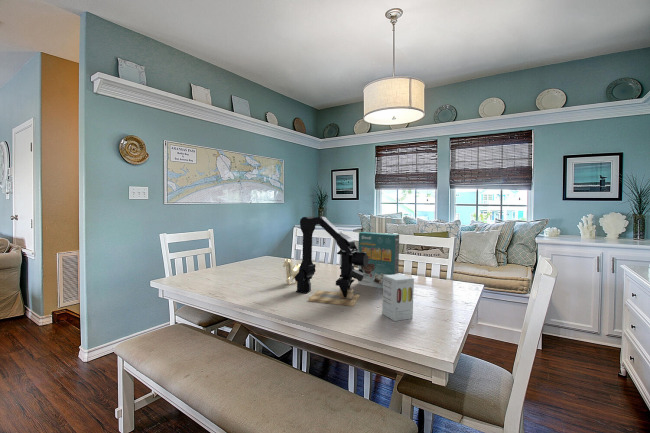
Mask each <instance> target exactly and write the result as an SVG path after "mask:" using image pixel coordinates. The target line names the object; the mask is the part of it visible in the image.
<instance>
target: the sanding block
mask: <svg viewBox="0 0 650 433" xmlns="http://www.w3.org/2000/svg"><path fill="white" fill-rule="evenodd" d="M338 291H339V292H338V293H339V299H349V300H352V298H353V294H354V288H350V289H348V292H347V297H346V298H345V297H344V296H343V294H342V291H341V289H340V288H339V290H338Z"/></svg>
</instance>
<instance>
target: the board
mask: <svg viewBox="0 0 650 433" xmlns="http://www.w3.org/2000/svg"><path fill="white" fill-rule="evenodd" d="M359 298H360V294H355V293H353V298H352V300H349V299H339V292H335V291H325V290H317V291H315V292H314V293H313V294H312V295H311V296H309V298H308V300H307V301H308V302H314V303H322V304H323V303H324V304H331V305H333V304H334V305H340V306H342V305H343V306H347V307H348V306H349V307H354V306H355V305H356V303H357V302H358V299H359Z"/></svg>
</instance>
